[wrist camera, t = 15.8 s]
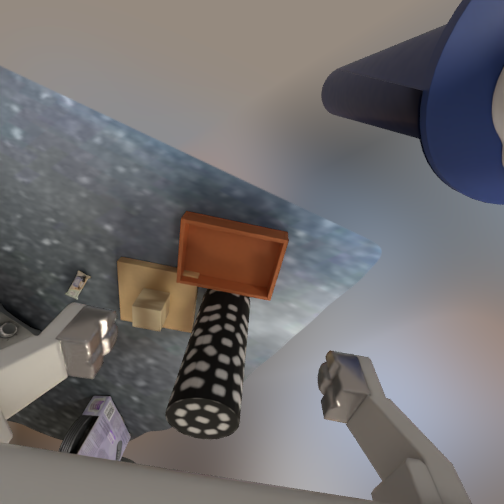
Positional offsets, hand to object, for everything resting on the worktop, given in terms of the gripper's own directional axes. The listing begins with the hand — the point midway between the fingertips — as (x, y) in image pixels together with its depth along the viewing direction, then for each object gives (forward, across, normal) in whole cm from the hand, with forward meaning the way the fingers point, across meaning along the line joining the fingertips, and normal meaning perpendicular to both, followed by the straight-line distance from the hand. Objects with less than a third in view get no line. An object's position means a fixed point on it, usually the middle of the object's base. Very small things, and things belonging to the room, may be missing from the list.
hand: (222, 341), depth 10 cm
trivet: (+29, +12, +25) cm, 40 cm away
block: (+28, +12, +25) cm, 39 cm away
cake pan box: (+29, +23, +68) cm, 78 cm away
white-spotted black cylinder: (+29, 0, +24) cm, 38 cm away
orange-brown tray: (+29, +1, +14) cm, 32 cm away
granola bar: (+29, +26, +26) cm, 47 cm away
